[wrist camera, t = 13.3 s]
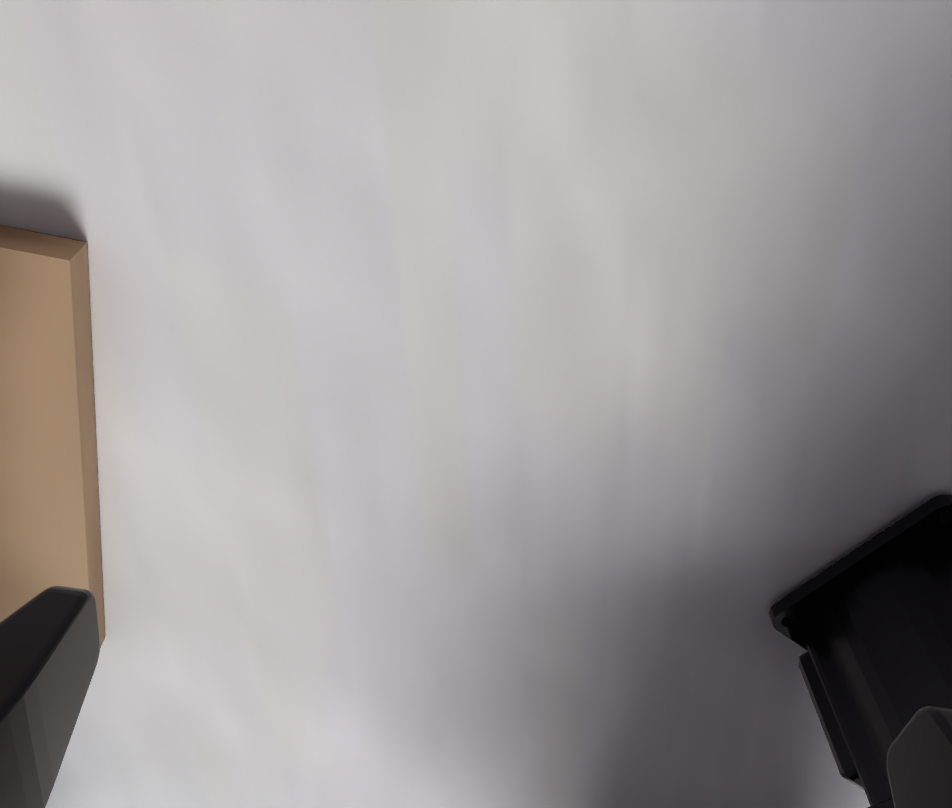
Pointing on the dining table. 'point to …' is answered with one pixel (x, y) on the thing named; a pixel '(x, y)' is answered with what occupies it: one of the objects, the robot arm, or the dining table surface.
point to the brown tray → (47, 422)
